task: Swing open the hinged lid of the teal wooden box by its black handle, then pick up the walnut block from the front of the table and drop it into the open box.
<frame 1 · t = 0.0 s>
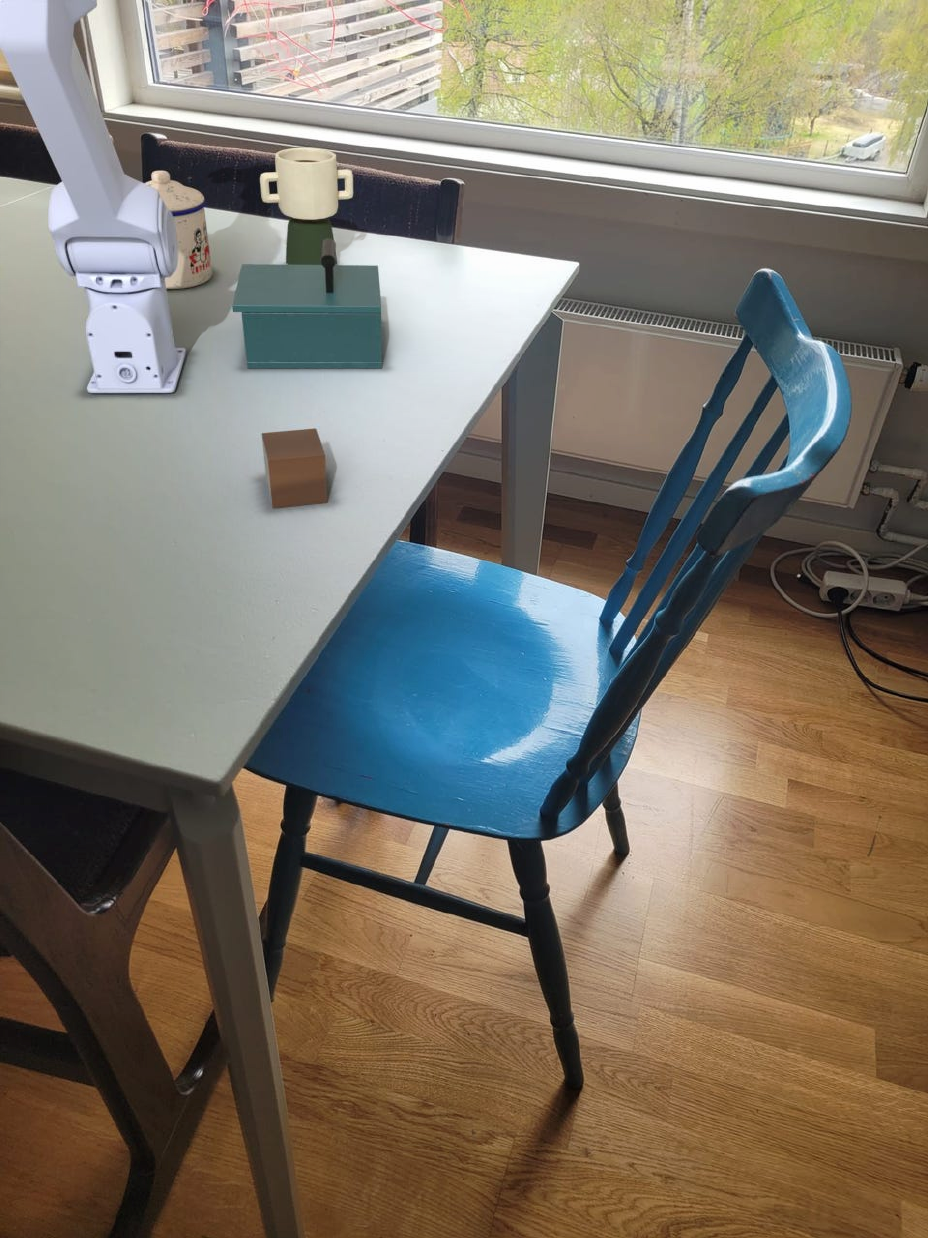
teal wooden box: (316, 345, 101), on the table
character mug: (312, 270, 118), on the table
block: (296, 491, 78), on the table
lid: (307, 268, 96), point 8 cm above the table, hinge at 0.0°
teacup with lid: (177, 274, 115), on the table
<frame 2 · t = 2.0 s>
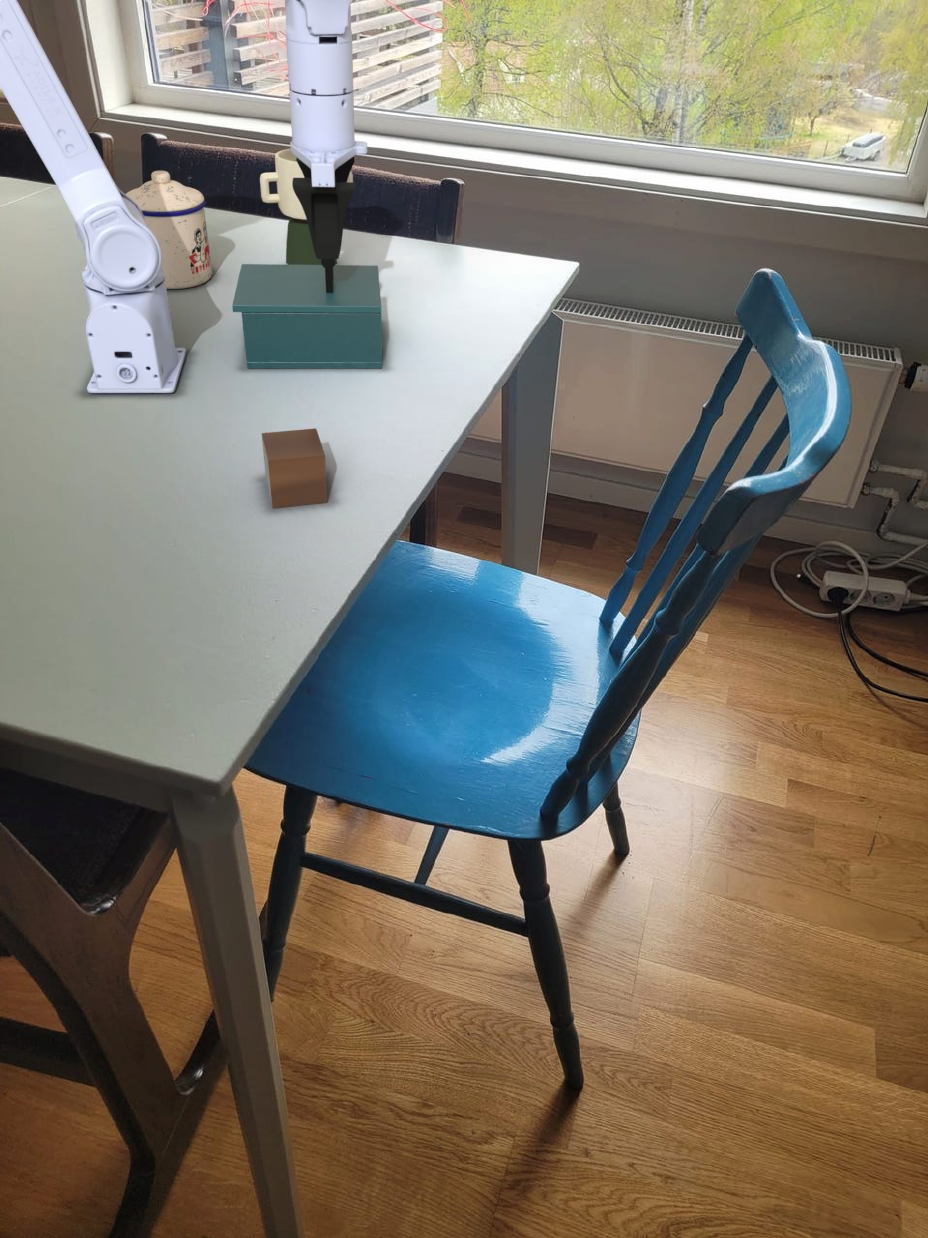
hand: (328, 244, 94), 10 cm above the table, tool pointing down, fingers open, 7 cm apart
nothing on the table moved.
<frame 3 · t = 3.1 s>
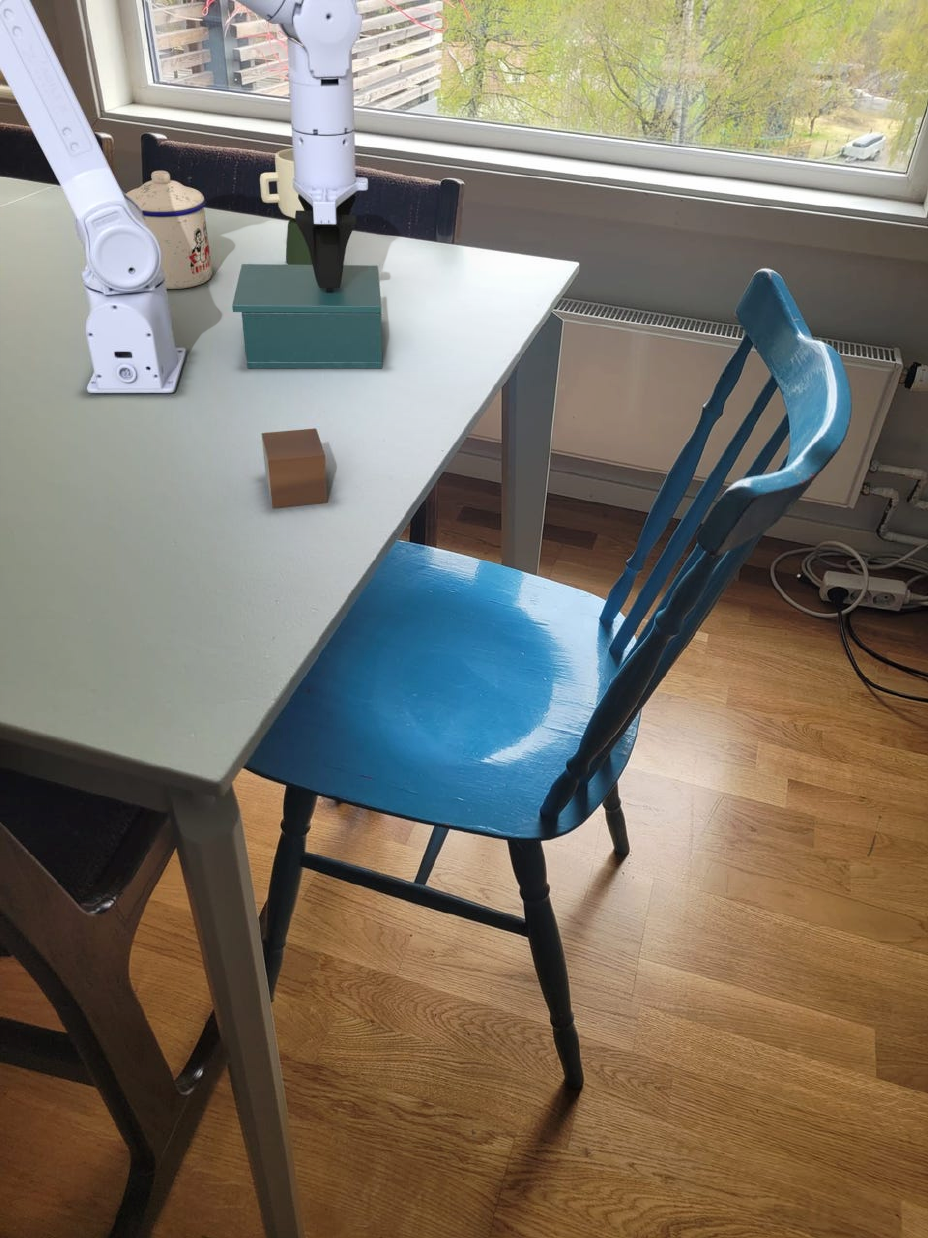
hand: (329, 276, 96), 7 cm above the table, tool pointing down, fingers closed on lid, 5 cm apart
lid: (307, 268, 96), point 8 cm above the table, hinge at 0.0°, touching gripper
everything else where it was.
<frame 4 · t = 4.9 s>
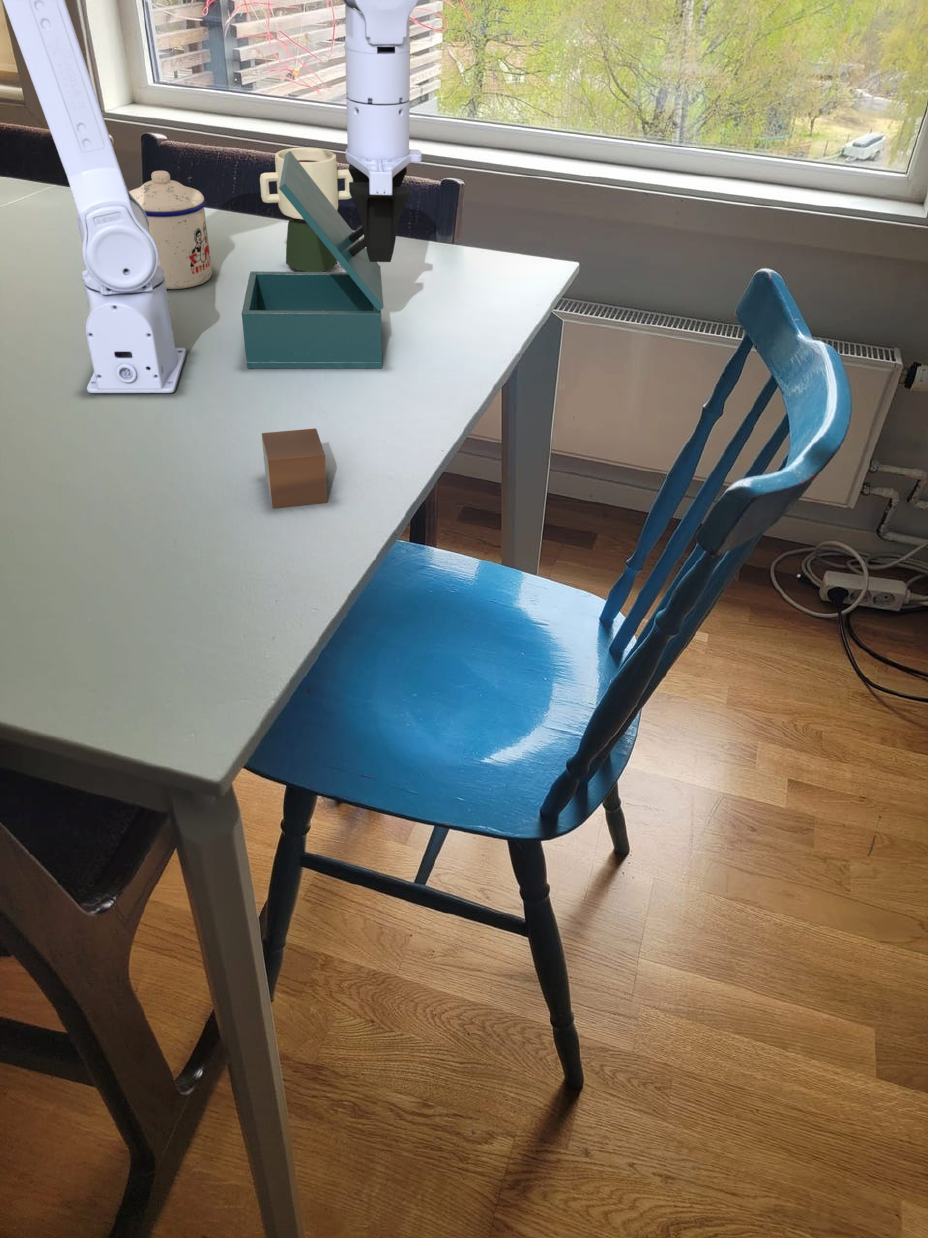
hand: (379, 251, 95), 10 cm above the table, tool pointing down, fingers closed on lid, 5 cm apart
lid: (349, 218, 93), point 13 cm above the table, hinge at 52.2°, touching gripper
everything else where it was.
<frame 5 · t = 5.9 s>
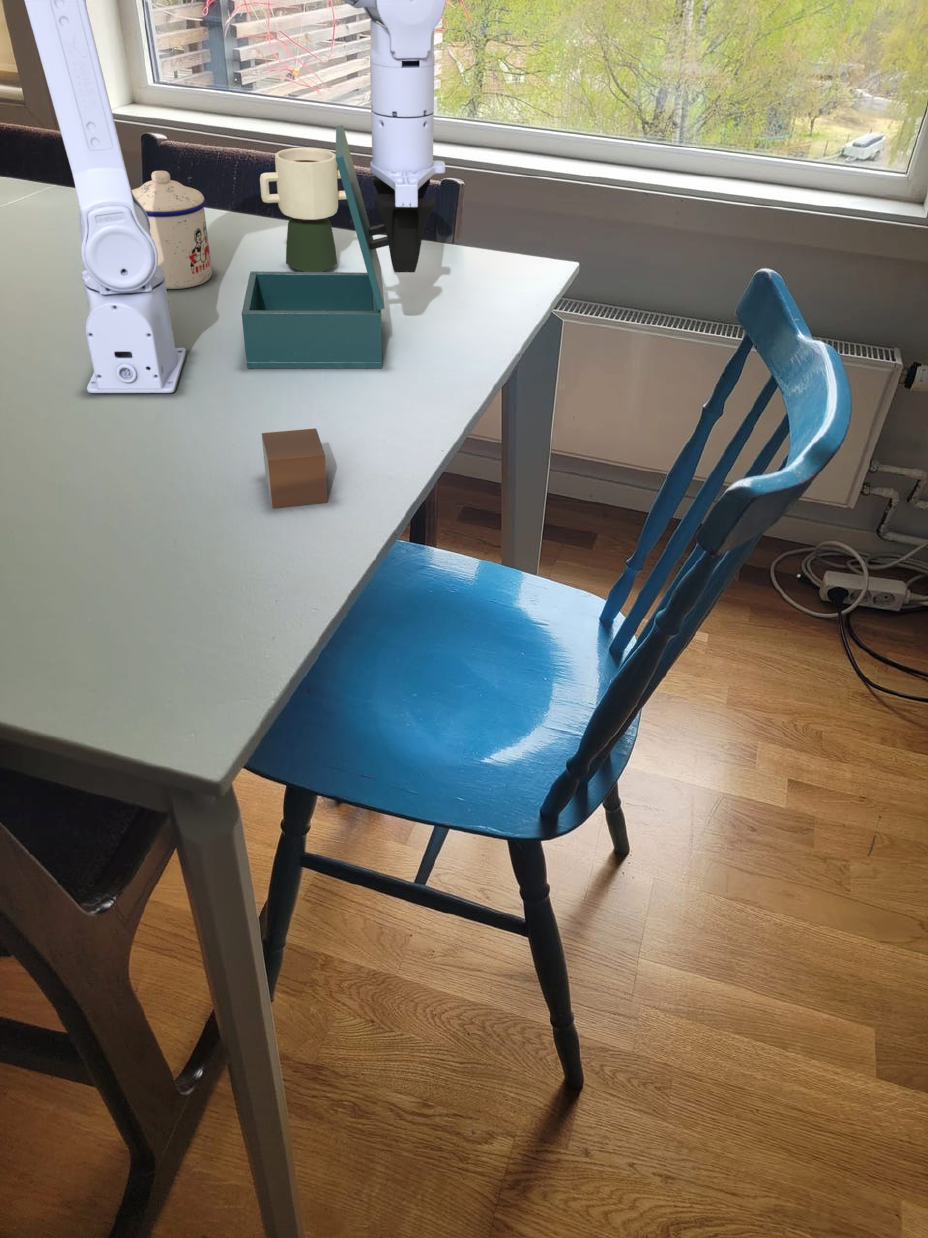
hand: (403, 261, 96), 9 cm above the table, tool pointing down, fingers closed on lid, 5 cm apart
lid: (379, 212, 93), point 13 cm above the table, hinge at 75.5°, touching gripper
everything else where it was.
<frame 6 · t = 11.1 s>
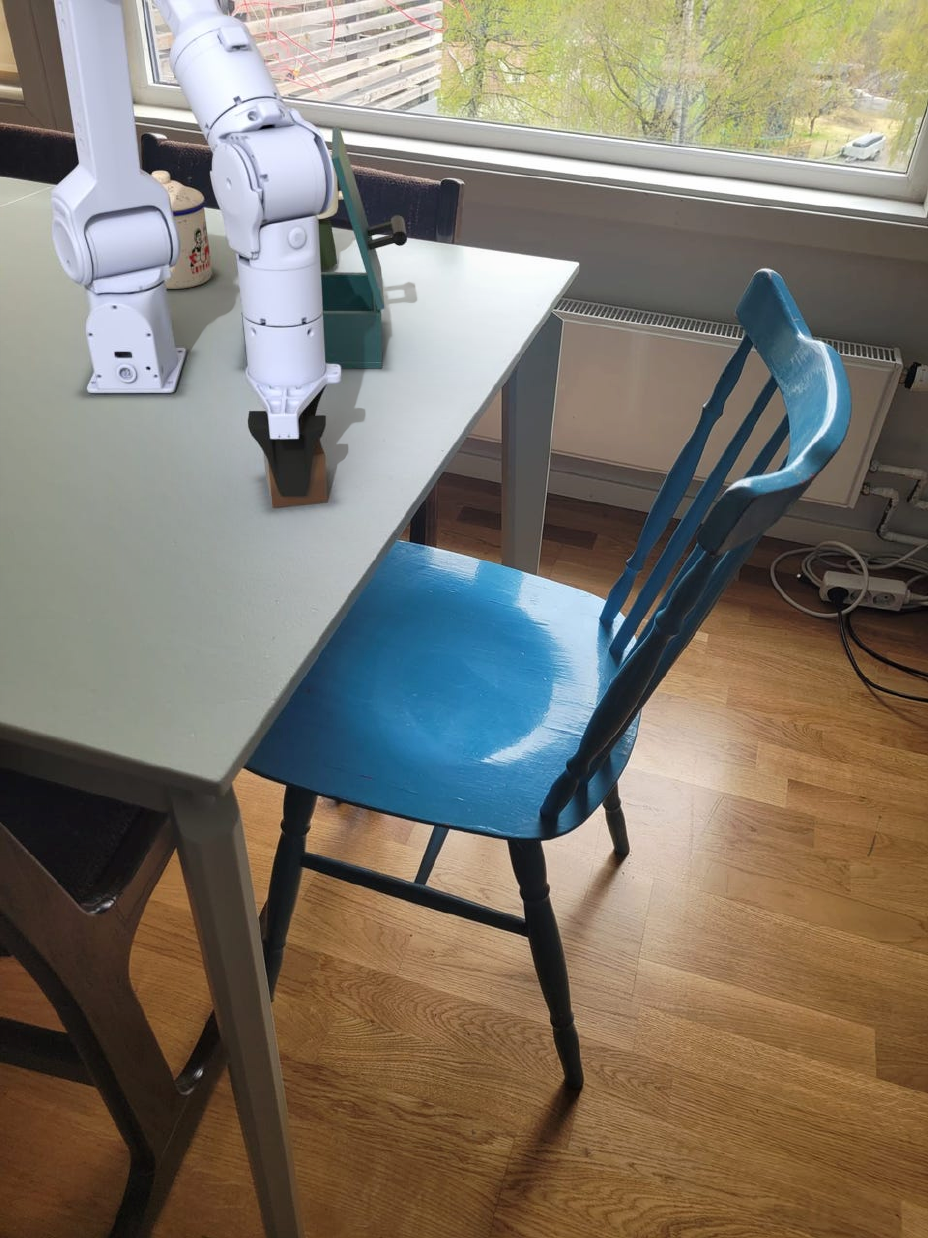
hand: (295, 476, 77), 1 cm above the table, tool pointing down, fingers closed on block, 5 cm apart
block: (296, 491, 78), on the table, touching gripper
lid: (377, 212, 93), point 13 cm above the table, hinge at 74.0°
everything else where it was.
when the fingers open (2 cm above the table, at t = 17.2 s): block stays where it is, resting on teal wooden box.
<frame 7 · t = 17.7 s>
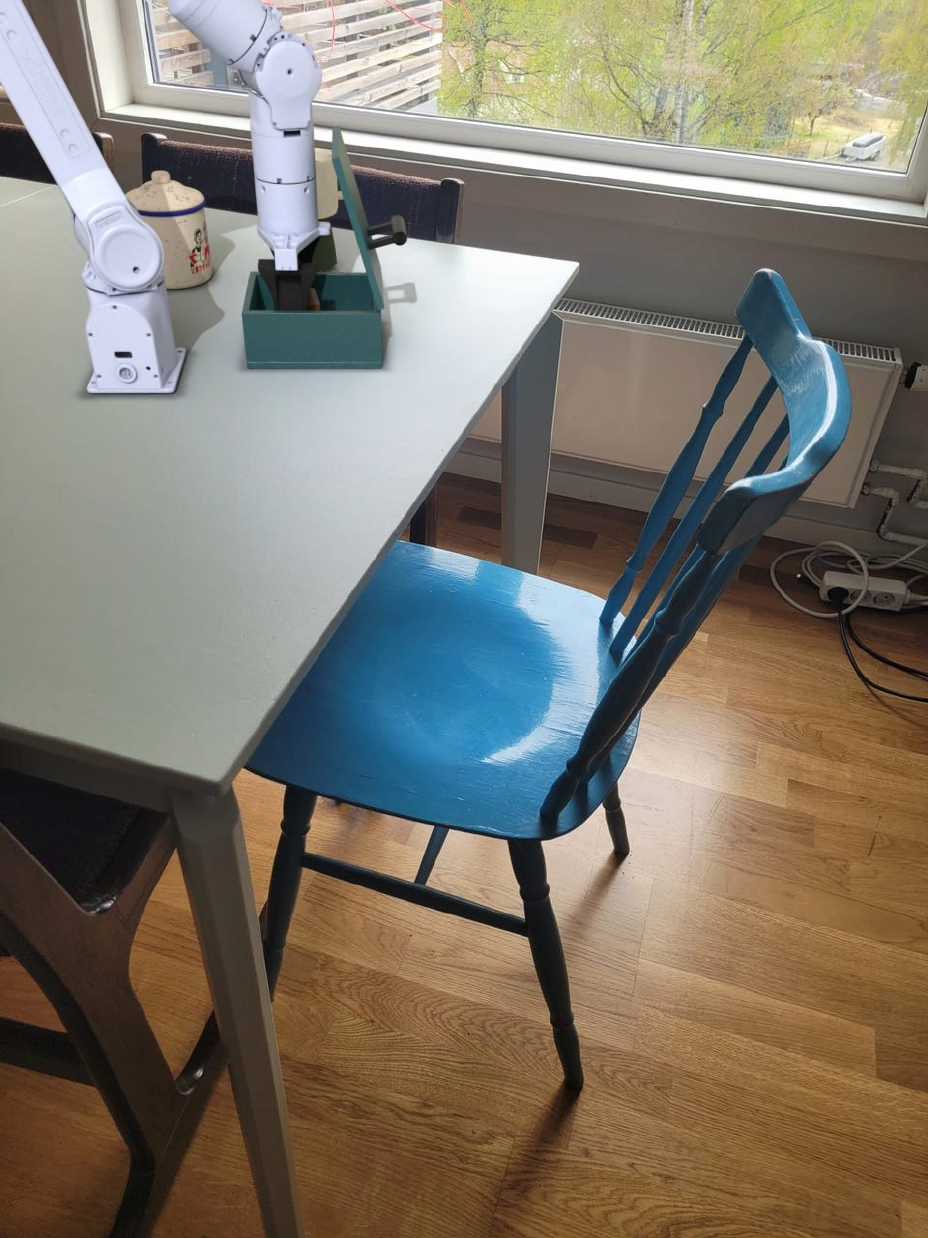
hand: (294, 316, 99), 3 cm above the table, tool pointing down, fingers open, 7 cm apart
block: (298, 338, 100), point 1 cm above the table, touching teal wooden box
everything else where it was.
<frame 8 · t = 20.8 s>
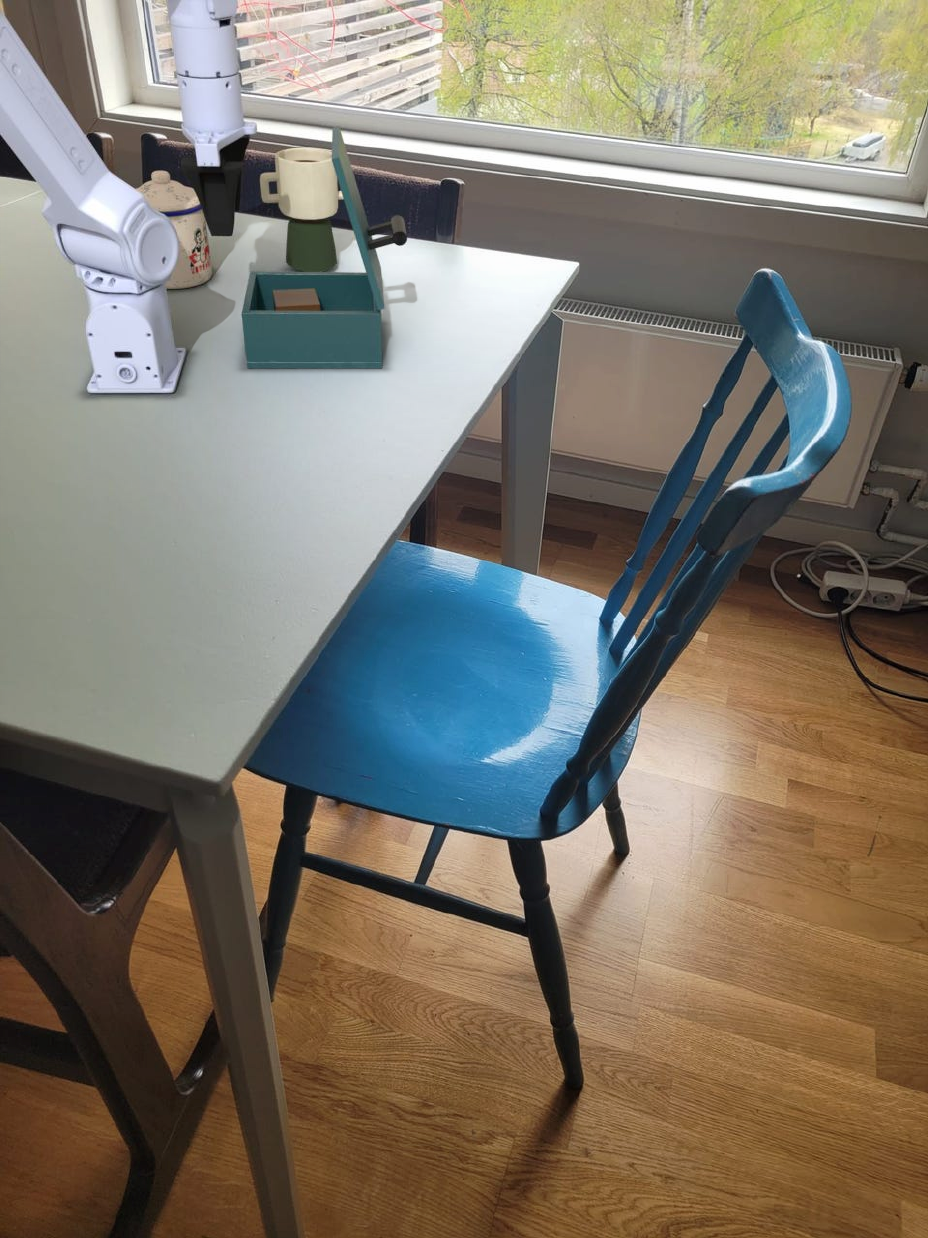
hand: (225, 222, 98), 10 cm above the table, tool pointing down, fingers open, 7 cm apart
nothing on the table moved.
at the end: lid at +74° (first picture: +0°); block inside the target area in the teal wooden box (1.8 cm from its centre), point 0.7 cm above the teal wooden box's base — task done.
